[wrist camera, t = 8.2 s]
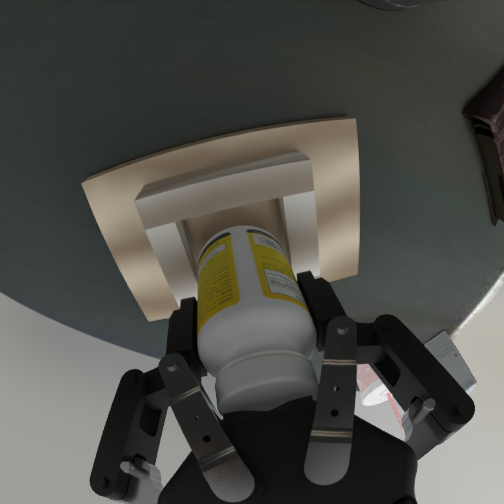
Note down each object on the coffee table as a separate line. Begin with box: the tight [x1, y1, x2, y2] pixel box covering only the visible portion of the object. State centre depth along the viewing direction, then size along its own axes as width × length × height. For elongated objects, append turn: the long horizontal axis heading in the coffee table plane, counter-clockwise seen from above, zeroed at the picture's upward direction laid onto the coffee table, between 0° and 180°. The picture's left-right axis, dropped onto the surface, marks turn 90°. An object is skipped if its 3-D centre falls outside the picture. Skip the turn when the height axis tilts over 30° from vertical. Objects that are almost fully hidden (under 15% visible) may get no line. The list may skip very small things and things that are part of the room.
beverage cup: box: [357, 364, 403, 429], centre depth 26 cm, size 6×6×14 cm
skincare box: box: [424, 330, 477, 394], centre depth 33 cm, size 6×4×12 cm
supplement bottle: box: [197, 226, 319, 416], centre depth 13 cm, size 5×5×10 cm
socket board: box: [81, 116, 360, 321], centre depth 20 cm, size 14×20×4 cm
